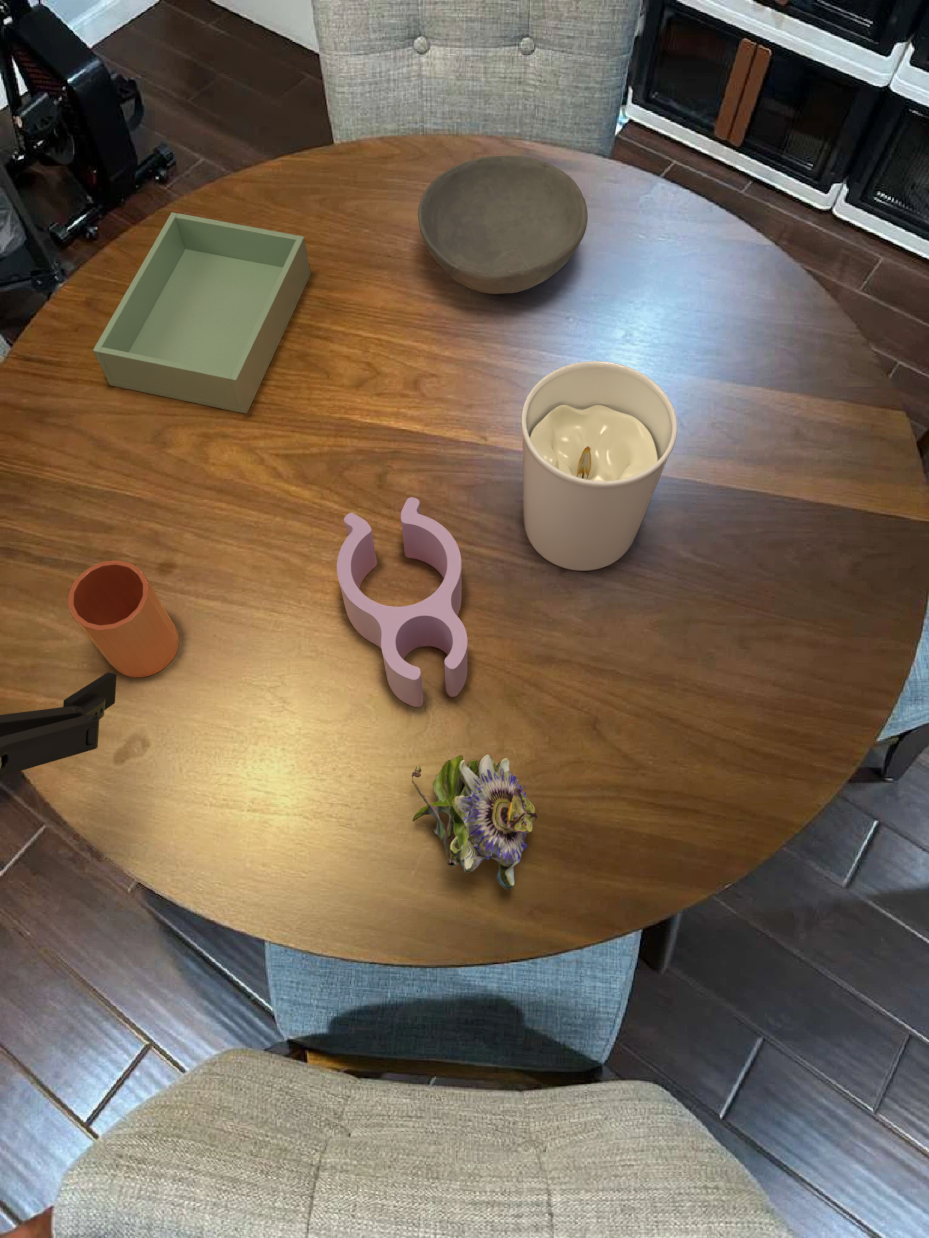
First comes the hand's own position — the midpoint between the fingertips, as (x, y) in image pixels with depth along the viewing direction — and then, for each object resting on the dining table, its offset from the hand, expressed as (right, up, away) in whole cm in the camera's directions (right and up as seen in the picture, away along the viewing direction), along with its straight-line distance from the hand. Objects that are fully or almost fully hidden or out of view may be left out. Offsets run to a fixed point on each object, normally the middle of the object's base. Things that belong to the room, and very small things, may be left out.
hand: (37, 668), depth 82 cm
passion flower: (+37, -16, +10) cm, 41 cm away
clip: (+30, +4, +20) cm, 37 cm away
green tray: (+5, +41, +39) cm, 56 cm away
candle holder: (+49, +15, +26) cm, 57 cm away
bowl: (+41, +51, +44) cm, 79 cm away
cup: (+3, +1, +19) cm, 19 cm away
